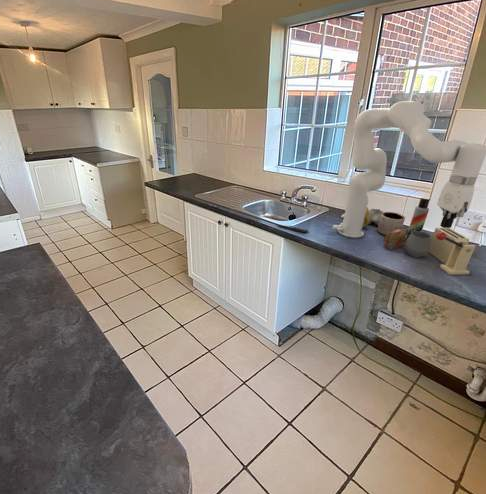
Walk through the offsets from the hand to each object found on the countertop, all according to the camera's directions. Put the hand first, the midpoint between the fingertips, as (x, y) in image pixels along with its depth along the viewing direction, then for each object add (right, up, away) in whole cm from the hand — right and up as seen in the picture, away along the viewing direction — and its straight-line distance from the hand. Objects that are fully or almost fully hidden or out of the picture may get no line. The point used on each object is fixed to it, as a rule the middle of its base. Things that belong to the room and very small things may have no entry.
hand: (445, 226), depth 118 cm
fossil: (+2, +7, +64) cm, 65 cm away
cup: (+3, -12, +22) cm, 25 cm away
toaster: (+14, -13, +19) cm, 27 cm away
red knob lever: (+5, -7, +4) cm, 9 cm away
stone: (-8, +11, +52) cm, 53 cm away
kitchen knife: (-8, +12, +67) cm, 68 cm away
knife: (-46, +2, +49) cm, 67 cm away
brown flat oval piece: (-3, -8, +29) cm, 30 cm away
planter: (+3, -1, +43) cm, 43 cm away
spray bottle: (+14, -2, +40) cm, 42 cm away
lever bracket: (+11, -18, +9) cm, 23 cm away
